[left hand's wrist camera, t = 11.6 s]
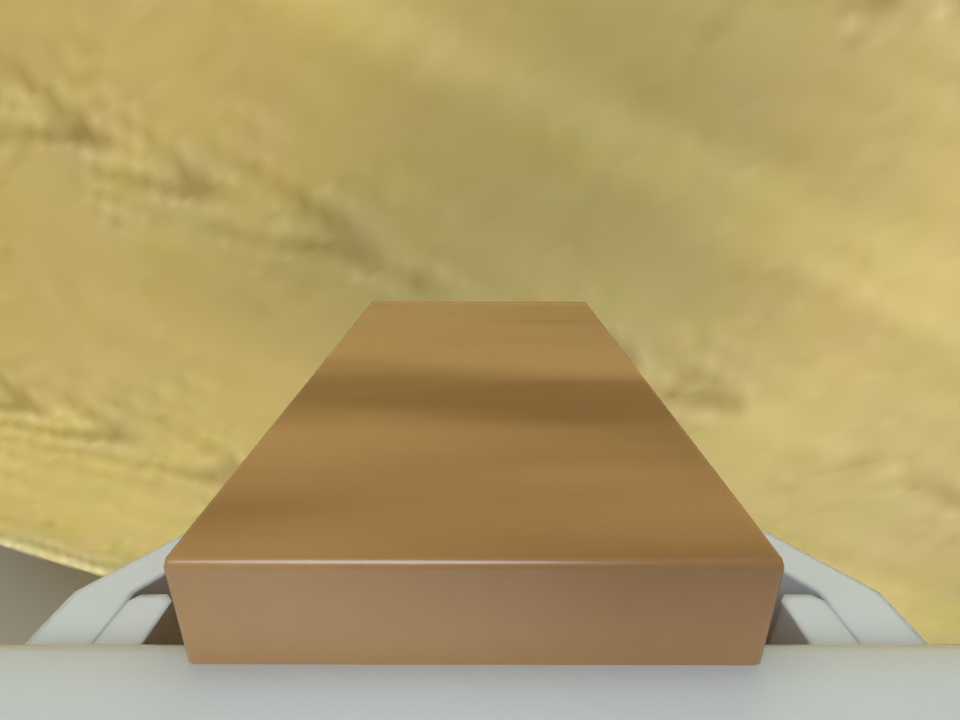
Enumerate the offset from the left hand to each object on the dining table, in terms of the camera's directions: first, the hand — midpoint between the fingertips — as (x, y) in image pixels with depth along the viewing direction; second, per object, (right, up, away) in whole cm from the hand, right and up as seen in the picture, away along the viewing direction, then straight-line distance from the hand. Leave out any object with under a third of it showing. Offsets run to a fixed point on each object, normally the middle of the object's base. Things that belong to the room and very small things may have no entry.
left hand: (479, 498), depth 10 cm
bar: (0, -7, +7) cm, 10 cm away
